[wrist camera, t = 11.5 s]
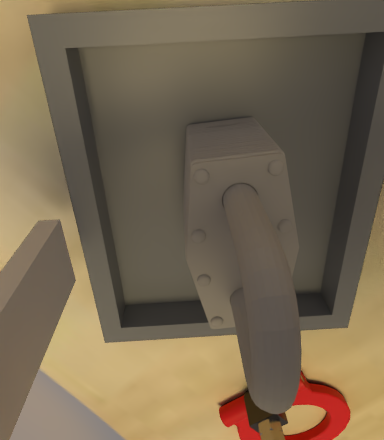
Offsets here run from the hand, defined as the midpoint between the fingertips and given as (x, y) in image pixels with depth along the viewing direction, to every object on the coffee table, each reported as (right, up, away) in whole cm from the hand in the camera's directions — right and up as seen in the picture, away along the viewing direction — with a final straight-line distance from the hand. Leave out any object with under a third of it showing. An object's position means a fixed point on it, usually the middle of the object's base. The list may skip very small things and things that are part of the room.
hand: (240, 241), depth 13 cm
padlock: (0, +2, +4) cm, 4 cm away
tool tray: (0, +2, +4) cm, 5 cm away
